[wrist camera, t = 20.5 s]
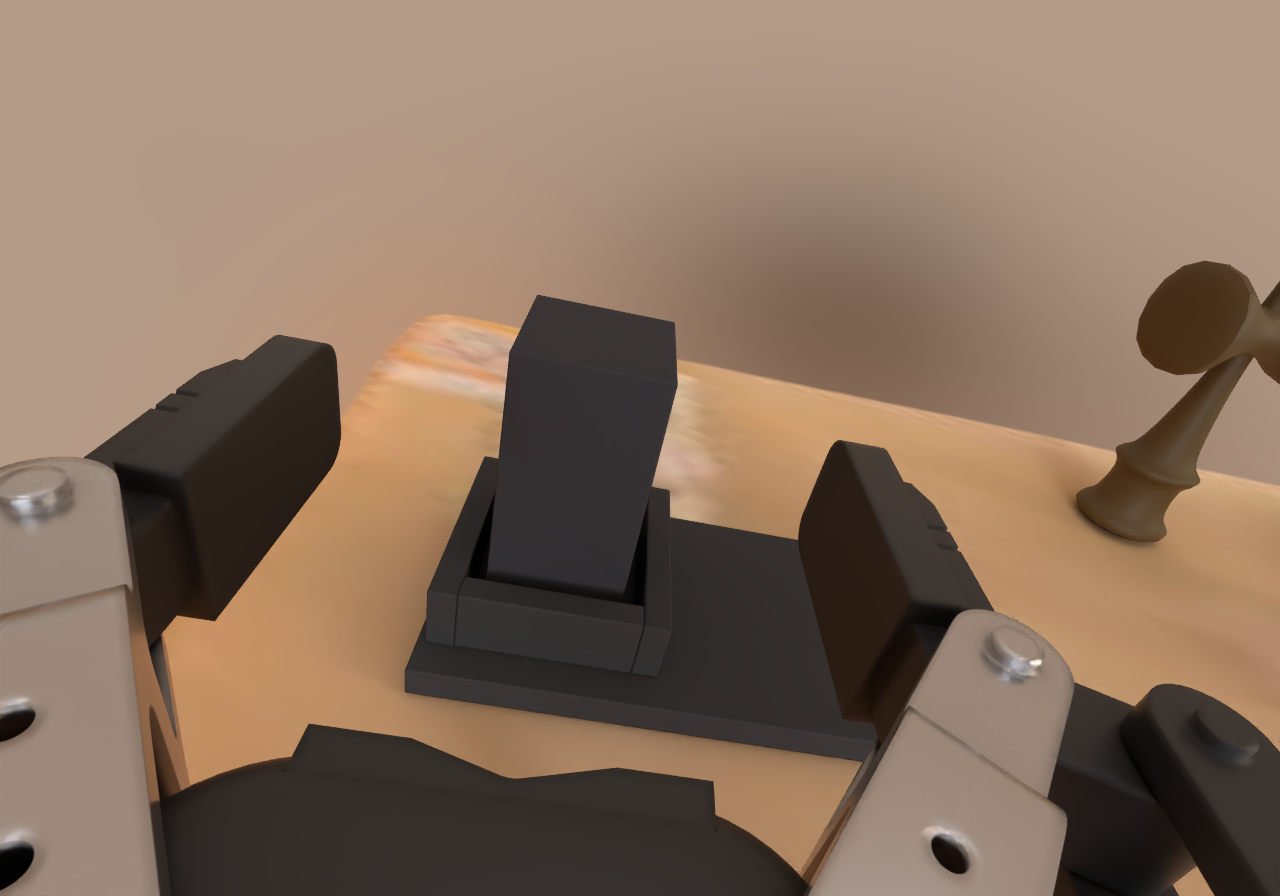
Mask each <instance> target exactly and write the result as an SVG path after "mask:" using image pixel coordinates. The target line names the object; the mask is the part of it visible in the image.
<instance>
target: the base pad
mask: <svg viewBox="0 0 1280 896" xmlns="http://www.w3.org/2000/svg"><path fill="white" fill-rule="evenodd" d="M498 460H499V459H497V458H492V457H486V456H485V457H484V459H483V462H482V464H481V466H480V469H479V471H478V473H477V476H476V478H475V480H474V483H473V485H472V487H471V490H470V492H469V494H468V497H467V499H466V502H465V504H464V506H463V509H462V511H461V513H460V516H459V518H458V520H457V523H456V525H455V527H454V530H453V532H452V534H451V537H450V539H449V542H448V544H447V546H446V549H445V551H444V553H443V556H442V558H441V560H440V563H439V565H438V567H437V570H436V572H435V574H434V577H433V579H432V582H431V584H430V586H429V589H428V591H427V613H426V620H425V622H424V625H423V627H422V630H421V632H420V635H419V637H418V639H417V642H416V644H415V647H414V649H413V652H412V654H411V657H410V659H409V662H408V664H407V666H406V669H405V692H408V693H414V694H421V695H427V696H434V697H441V698H447V699H454V700H460V701H467V702H474V703H480V704H487V705H494V706H500V707H507V708H513V709H520V710H527V711H533V712H540V713H546V714H553V715H560V716H566V717H573V718H579V719H586V720H593V721H599V722H606V723H612V724H619V725H626V726H632V727H639V728H645V729H652V730H659V731H665V732H672V733H678V734H685V735H692V736H698V737H705V738H712V739H718V740H725V741H731V742H738V743H745V744H751V745H758V746H764V747H771V748H778V749H784V750H791V751H797V752H804V753H811V754H817V755H824V756H830V757H837V758H844V759H850V760H857V761H864V760H865V758H866V756H867V754H868V753H869V751H870V749H871V748H872V746H873V745H874V743H875V742H876V740H877V738H878V735H877V731H876V728H875V725H874V724H870V723H863V722H857V721H850V720H844V719H842V715H841V711H840V707H839V703H838V699H837V696H836V692H835V688H834V684H833V680H832V676H831V672H830V668H829V665H828V661H827V657H826V653H825V649H824V645H823V641H822V638H821V634H820V630H819V626H818V622H817V618H816V614H815V611H814V607H813V603H812V599H811V595H810V591H809V587H808V583H807V580H806V576H805V572H804V568H803V564H802V560H801V556H800V553H799V546H798V540H794V539H789V538H783V537H777V536H772V535H766V534H761V533H755V532H749V531H744V530H738V529H732V528H727V527H721V526H716V525H710V524H704V523H699V522H693V521H688V520H682V519H676V518H671V517H670V491H669V490H666V489H660V488H655V487H651V490H650V494H649V498H648V502H647V506H646V510H645V514H644V518H643V521H642V525H641V529H640V533H639V537H638V541H637V545H636V549H635V552H634V556H633V560H632V564H631V568H630V572H629V576H628V580H627V583H626V587H625V591H624V595H623V599H622V603H620V602H614V601H608V600H602V599H596V598H590V597H584V596H578V595H572V594H566V593H560V592H554V591H548V590H542V589H536V588H530V587H524V586H518V585H512V584H506V583H500V582H494V581H488V580H486V577H487V567H488V557H489V547H490V538H491V528H492V518H493V508H494V499H495V489H496V479H497V469H498Z"/></svg>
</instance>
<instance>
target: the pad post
mask: <svg viewBox="0 0 1280 896" xmlns="http://www.w3.org/2000/svg"><path fill="white" fill-rule="evenodd" d="M677 386H678V382H677V360H676V337H675V323H674V322H670V321H665V320H660V319H655V318H650V317H645V316H640V315H635V314H630V313H625V312H620V311H615V310H611V309H606V308H600V307H596V306H590V305H586V304H581V303H576V302H571V301H566V300H561V299H556V298H551V297H546V296H541V295H537V297H536V299H535V301H534V303H533V305H532V307H531V309H530V311H529V313H528V316H527V318H526V319H525V322H524V324H523V326H522V328H521V330H520V332H519V334H518V336H517V338H516V340H515V342H514V344H513V346H512V348H511V350H510V352H509V362H508V372H507V382H506V391H505V401H504V411H503V421H502V430H501V440H500V450H499V460H498V469H497V479H496V489H495V499H494V508H493V518H492V528H491V538H490V547H489V557H488V567H487V577H486V580H488V581H494V582H500V583H506V584H512V585H518V586H524V587H530V588H536V589H542V590H548V591H554V592H560V593H566V594H572V595H578V596H584V597H590V598H596V599H602V600H608V601H614V602H620V603H622V599H623V595H624V591H625V587H626V583H627V580H628V576H629V572H630V568H631V564H632V560H633V556H634V552H635V549H636V545H637V541H638V537H639V533H640V529H641V525H642V521H643V518H644V514H645V510H646V506H647V502H648V498H649V494H650V490H651V486H652V483H653V479H654V475H655V471H656V467H657V463H658V459H659V455H660V452H661V448H662V444H663V440H664V436H665V432H666V428H667V424H668V421H669V417H670V413H671V409H672V405H673V401H674V397H675V393H676V390H677Z"/></svg>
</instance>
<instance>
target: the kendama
mask: <svg viewBox="0 0 1280 896" xmlns="http://www.w3.org/2000/svg"><path fill="white" fill-rule="evenodd" d="M1136 339H1137V342H1138V345H1139V348H1140V351H1141V353H1142V356H1144V357H1145V358H1146V359H1147V360H1148V361H1149V362H1150V363H1151V364H1152V365H1153V366H1154V367H1155V368H1158V369H1161V370H1163V371H1166V372H1169V373H1172V374H1176V375H1184V374H1198V373H1202V372H1204V371H1206V370H1208V371H1207V372H1206V373H1205V374H1204V375H1203V376H1202V377H1201V378H1200V380H1199V381H1198V382H1197V383H1196V384H1195V385H1194V386H1193V387H1192V388H1191V389H1190V390H1189V391H1188V392H1187V394H1186V395H1185V396H1184V397H1183V398H1182V399H1181V400H1180V401H1179V402H1178V403H1177V404H1176V405H1175V406H1174V407H1173V408H1172V409H1171V410H1170V411H1169V412H1168V413H1167V414H1166V415H1165V416H1164V417H1163V418H1162V419H1161V420H1160V421H1159V422H1158V423H1157V424H1156V425H1155V426H1154V427H1152V428H1151V429H1150V430H1149V431H1148V432H1147V433H1145V434H1144V435H1143V436H1142V437H1140V438H1139V439H1137V440H1135V441H1133V442H1129V443H1124V444H1122V445H1119V446H1117V447H1116V454H1117V460H1116V463H1115V465H1114V466H1113V468H1112V469H1111V471H1110V472H1109V473H1108V474H1107V475H1106V476H1105V477H1104V478H1103V479H1102V480H1101V481H1100V482H1099V483H1098V484H1096V485H1094V486H1090V487H1087V488H1085V489H1083V490H1081V491H1079V492H1078V493H1077V495H1076V498H1077V503H1078V505H1079V507H1080V508H1081V510H1082V511H1083V512H1084V513H1085V515H1086V516H1088V517H1089V518H1090V519H1091V520H1093V521H1094V522H1095V523H1096V524H1098V525H1100V526H1102V527H1103V528H1105V529H1107V530H1108V531H1110V532H1112V533H1115V534H1117V535H1120V536H1122V537H1124V538H1127V539H1131V540H1135V541H1139V542H1153V541H1159V540H1160V539H1161V538H1163V537H1164V536H1165V535H1166V527H1165V525H1164V522H1163V517H1164V514H1165V512H1166V510H1167V508H1168V506H1169V504H1170V503H1171V502H1172V500H1173V499H1174V498H1175V497H1176V496H1177V495H1178V493H1180V492H1181V491H1183V490H1186V489H1190V488H1192V487H1194V486H1196V485H1198V484H1199V483H1200V478H1199V476H1198V474H1197V471H1196V463H1197V459H1198V456H1199V454H1200V451H1201V448H1202V446H1203V444H1204V442H1205V440H1206V438H1207V436H1208V434H1209V432H1210V430H1211V428H1212V426H1213V424H1214V422H1215V421H1216V419H1217V417H1218V415H1219V413H1220V411H1221V409H1222V408H1223V406H1224V404H1225V402H1226V401H1227V399H1228V397H1229V395H1230V394H1231V392H1232V390H1233V388H1234V387H1235V385H1236V384H1237V382H1238V380H1239V379H1240V377H1241V376H1242V374H1243V372H1244V371H1245V369H1246V368H1247V366H1248V365H1249V363H1250V362H1251V360H1252V358H1253V357H1254V358H1256V360H1257V361H1258V363H1259V365H1260V366H1261V368H1262V370H1263V371H1264V372H1265V373H1266V374H1267V375H1268V376H1270V377H1271V378H1272V379H1273V380H1275V381H1276V382H1277V383H1279V384H1280V282H1279V283H1278V284H1277V285H1276V287H1275V288H1274V290H1273V291H1272V292H1271V293H1270V295H1269V296H1268V297H1267V298H1266V300H1265V301H1264V302H1263V303H1262V305H1261V304H1260V301H1259V299H1258V296H1257V294H1256V292H1255V291H1254V288H1253V286H1252V284H1251V282H1250V280H1249V279H1248V277H1247V276H1245V275H1244V274H1242V273H1241V272H1240V271H1238V270H1237V269H1235V268H1234V267H1232V266H1231V265H1227V264H1221V263H1215V262H1208V261H1202V262H1198V263H1194V264H1190V265H1185V266H1183V267H1181V268H1180V269H1178V270H1177V271H1176V272H1174V273H1173V274H1172V275H1170V276H1169V277H1167V278H1166V279H1165V280H1164V281H1163V282H1162V283H1161V284H1160V286H1159V287H1158V288H1157V289H1156V291H1155V292H1154V293H1153V294H1152V295H1151V297H1150V298H1149V299H1148V302H1147V304H1146V306H1145V308H1144V310H1143V312H1142V314H1141V316H1140V318H1139V324H1138V331H1137V338H1136Z"/></svg>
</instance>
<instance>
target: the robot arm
mask: <svg viewBox="0 0 1280 896" xmlns="http://www.w3.org/2000/svg"><path fill="white" fill-rule="evenodd" d="M340 440H341V422H340V406H339V390H338V373H337V359H336V354H335V351H334V349H333V347H332V346H331V345H329V344H326V343H320V342H314V341H309V340H304V339H299V338H294V337H288V336H283V335H276V336H274V337H272V338H271V339H269V340H268V341H267V342H266V343H265V344H263V345H262V346H260V347H259V348H258V349H257V350H255V351H254V352H253V353H251V354H250V355H249V356H248V357H246V358H245V359H244V360H237V359H235V360H232V361H229V362H227V363H224V364H221V365H219V366H215V367H213V368H210V369H207V370H205V371H202V372H200V373H198V374H197V375H196V376H194V377H193V378H192V379H190V380H189V381H188V382H186V383H185V384H183V385H182V386H181V387H179V388H178V389H177V390H176V394H173V393H171V394H170V395H168V396H167V397H166V398H164V399H163V400H162V401H160V402H159V403H158V404H156V408H155V409H149V410H148V411H147V412H146V413H144V414H143V415H141V416H140V417H139V418H137V419H136V420H134V421H133V422H132V423H130V424H129V425H128V426H127V427H125V428H123V429H122V430H121V431H119V432H118V433H117V434H115V435H114V436H113V437H111V438H110V439H109V440H107V441H106V442H104V443H103V444H102V445H100V446H99V447H98V448H97V449H95V450H94V451H92V452H91V453H89V454H88V455H87V456H85V457H84V458H78V457H48V458H38V459H32V460H27V461H22V462H17V463H13V464H9V465H6V466H3V467H0V896H1179V895H1178V893H1177V892H1176V890H1175V888H1174V886H1173V884H1174V883H1175V882H1177V881H1178V880H1179V879H1181V878H1182V877H1183V876H1185V875H1186V874H1187V873H1188V872H1190V871H1191V870H1192V869H1194V868H1195V867H1196V866H1197V867H1198V868H1199V870H1200V872H1201V873H1202V875H1203V877H1204V878H1205V880H1206V882H1207V884H1208V885H1209V887H1210V889H1211V890H1212V892H1213V894H1214V895H1215V896H1280V752H1279V751H1278V749H1277V748H1276V747H1275V746H1274V745H1273V744H1272V743H1271V741H1270V740H1269V739H1268V738H1267V737H1266V736H1265V735H1264V734H1263V733H1262V732H1261V731H1260V730H1259V729H1257V728H1256V727H1255V726H1254V725H1253V724H1252V723H1250V722H1249V721H1248V720H1247V719H1245V718H1244V717H1243V716H1241V715H1240V714H1239V713H1237V712H1236V711H1234V710H1233V709H1231V708H1230V707H1228V706H1227V705H1225V704H1223V703H1222V702H1220V701H1218V700H1216V699H1214V698H1213V697H1211V696H1208V695H1206V694H1204V693H1202V692H1200V691H1197V690H1194V689H1192V688H1189V687H1185V686H1181V685H1176V684H1161V685H1157V686H1155V687H1154V688H1152V689H1151V690H1150V691H1149V692H1148V693H1147V694H1146V695H1145V696H1144V698H1143V699H1142V700H1141V701H1140V702H1139V703H1138V704H1137V705H1136V706H1135V707H1134V706H1132V705H1129V704H1127V703H1124V702H1122V701H1119V700H1117V699H1114V698H1112V697H1109V696H1107V695H1105V694H1102V693H1100V692H1097V691H1095V690H1092V689H1090V688H1087V687H1085V686H1082V685H1080V684H1077V683H1075V682H1074V679H1073V676H1072V673H1071V671H1070V668H1069V667H1068V665H1067V663H1066V662H1065V660H1064V659H1063V657H1062V656H1061V655H1060V654H1059V652H1058V651H1057V650H1056V649H1055V648H1054V647H1053V646H1052V645H1051V644H1050V643H1049V642H1048V641H1047V640H1045V639H1044V638H1043V637H1042V636H1041V635H1039V634H1038V633H1037V632H1035V631H1034V630H1032V629H1031V628H1029V627H1028V626H1026V625H1024V624H1023V623H1021V622H1019V621H1017V620H1015V619H1013V618H1011V617H1008V616H1006V615H1003V614H1000V613H997V612H995V611H994V609H993V608H992V606H991V604H990V602H989V601H988V599H987V597H986V595H985V594H984V592H983V590H982V588H981V587H980V585H979V583H978V581H977V579H976V578H975V576H974V574H973V572H972V571H971V569H970V567H969V565H968V564H967V562H966V560H965V558H964V557H963V555H962V553H961V552H959V551H957V548H958V546H957V544H956V543H955V541H954V539H953V537H952V536H951V534H950V532H947V531H946V530H947V527H946V525H945V523H944V521H943V520H942V518H941V516H940V514H939V513H938V511H937V509H936V507H935V506H934V505H933V504H932V503H931V502H930V501H929V500H928V499H927V498H926V497H925V496H924V495H923V494H922V493H921V492H920V491H918V490H917V489H916V488H915V487H914V486H913V485H912V484H911V483H906V482H903V480H902V478H901V476H900V474H899V472H898V470H897V468H896V467H895V465H894V463H893V461H892V459H891V457H890V455H889V453H888V452H887V450H885V449H884V448H880V447H875V446H869V445H864V444H858V443H853V442H848V441H842V440H838V441H836V442H835V443H834V444H833V445H832V447H831V448H830V450H829V452H828V454H827V457H826V459H825V462H824V464H823V466H822V469H821V471H820V474H819V476H818V479H817V481H816V483H815V486H814V488H813V491H812V493H811V495H810V498H809V500H808V503H807V505H806V507H805V510H804V512H803V515H802V518H801V522H800V527H799V535H798V546H799V553H800V556H801V560H802V564H803V568H804V572H805V576H806V580H807V583H808V587H809V591H810V595H811V599H812V603H813V607H814V611H815V614H816V618H817V622H818V626H819V630H820V634H821V638H822V641H823V645H824V649H825V653H826V657H827V661H828V665H829V668H830V672H831V676H832V680H833V684H834V688H835V692H836V696H837V699H838V703H839V707H840V711H841V715H842V719H844V720H850V721H857V722H863V723H870V724H874V725H875V728H876V731H877V735H878V738H877V740H876V742H875V743H874V745H873V746H872V748H871V749H870V751H869V753H868V754H867V756H866V758H865V760H864V761H863V763H862V765H861V767H860V768H859V770H858V772H857V774H856V775H855V777H854V779H853V781H852V782H851V784H850V786H849V788H848V789H847V791H846V793H845V795H844V796H843V798H842V800H841V802H840V804H839V805H838V807H837V809H836V811H835V812H834V814H833V816H832V818H831V819H830V821H829V823H828V825H827V826H826V828H825V830H824V832H823V833H822V835H821V837H820V839H819V840H818V842H817V844H816V846H815V847H814V849H813V851H812V852H811V854H810V856H809V858H808V859H807V861H806V862H805V864H804V866H803V867H802V869H801V871H800V872H799V874H798V873H797V872H796V871H795V870H794V869H793V868H792V867H791V866H790V865H789V864H788V863H787V862H786V861H785V860H784V859H782V858H781V857H780V856H779V855H778V854H777V853H776V852H775V851H773V850H772V849H771V848H770V847H769V846H767V845H766V844H764V843H763V842H762V841H760V840H759V839H757V838H756V837H755V836H753V835H752V834H750V833H749V832H747V831H745V830H744V829H742V828H740V827H738V826H737V825H735V824H733V823H731V822H729V821H728V820H725V819H723V818H721V817H718V816H716V815H715V800H714V785H713V781H707V780H700V779H693V778H686V777H679V776H672V775H665V774H658V773H651V772H644V771H637V770H630V769H623V768H610V769H601V770H592V771H584V772H575V773H566V774H557V775H548V776H539V777H530V778H520V779H513V778H506V777H503V776H500V775H498V774H495V773H493V772H491V771H488V770H486V769H483V768H481V767H479V766H476V765H474V764H472V763H469V762H467V761H464V760H462V759H460V758H457V757H455V756H452V755H450V754H448V753H445V752H443V751H441V750H438V749H436V748H433V747H431V746H429V745H426V744H424V743H422V742H419V741H417V740H414V739H412V738H406V737H399V736H392V735H385V734H378V733H371V732H364V731H357V730H350V729H343V728H336V727H329V726H322V725H315V724H308V726H307V728H306V730H305V732H304V734H303V736H302V738H301V740H300V742H299V744H298V746H297V748H296V750H295V751H294V753H293V755H292V757H287V758H278V759H273V760H268V761H263V762H259V763H254V764H249V765H246V766H243V767H240V768H236V769H233V770H230V771H227V772H224V773H220V774H218V775H215V776H213V777H211V778H208V779H206V780H203V781H201V782H198V783H196V784H194V785H191V786H190V782H189V777H188V773H187V768H186V763H185V757H184V752H183V746H182V739H181V733H180V727H179V721H178V715H177V709H176V703H175V697H174V690H173V684H172V678H171V672H170V666H169V660H168V654H167V648H166V644H165V640H164V637H163V631H164V630H165V629H166V628H167V627H168V625H169V624H170V623H171V622H172V621H173V619H174V618H175V617H176V616H177V615H178V616H184V617H191V618H197V619H204V620H210V621H215V620H216V619H217V618H218V616H219V615H220V614H221V613H222V611H223V610H224V609H225V607H226V606H227V605H228V603H229V602H230V601H231V599H232V598H233V597H234V595H235V594H236V593H237V592H238V590H239V589H240V588H241V586H242V585H243V584H244V582H245V581H246V580H247V578H248V577H249V576H250V574H251V573H252V572H253V571H254V569H255V568H256V567H257V565H258V564H259V563H260V561H261V560H262V559H263V557H264V556H265V555H266V553H267V552H268V551H269V550H270V548H271V547H272V546H273V544H274V543H275V542H276V540H277V539H278V538H279V536H280V535H281V534H282V533H283V531H284V530H285V529H286V527H287V526H288V525H289V523H290V522H291V521H292V519H293V518H294V517H295V515H296V514H297V513H298V512H299V510H300V509H301V508H302V506H303V505H304V504H305V502H306V501H307V500H308V498H309V497H310V496H311V494H312V493H313V492H314V491H315V489H316V488H317V487H318V485H319V484H320V483H321V481H322V480H323V479H324V477H325V476H326V475H327V473H328V472H329V471H330V469H331V468H332V466H333V464H334V462H335V460H336V457H337V454H338V450H339V446H340Z"/></svg>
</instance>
